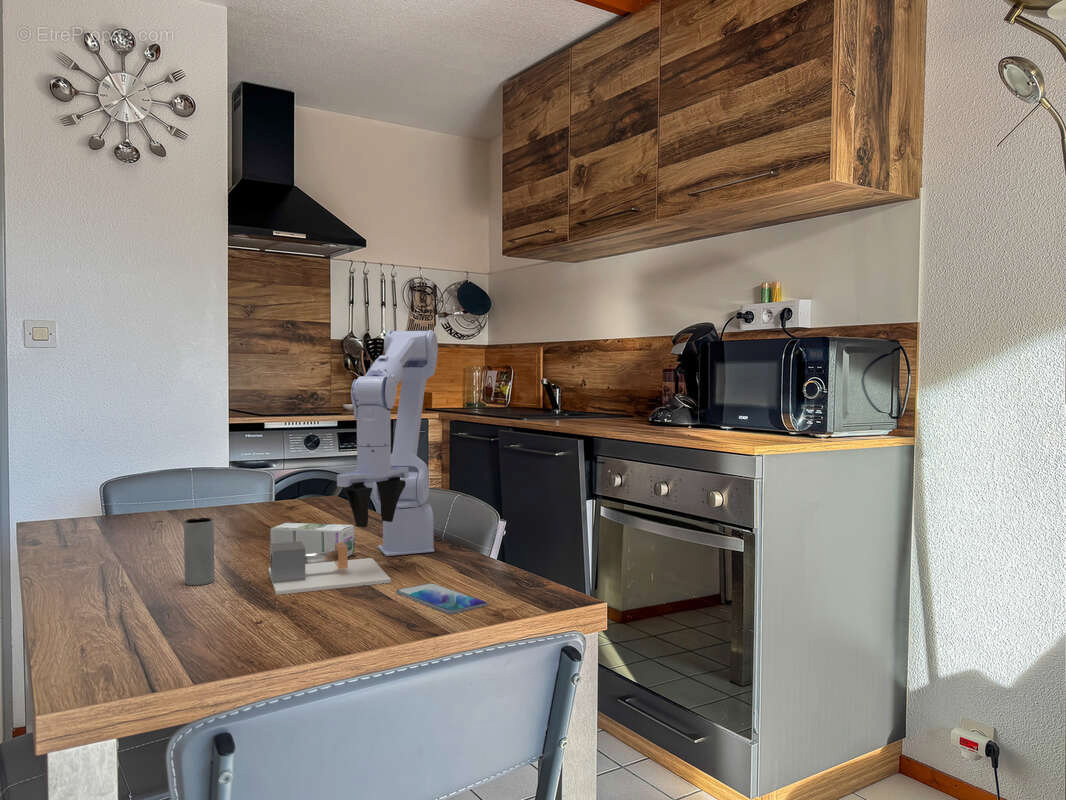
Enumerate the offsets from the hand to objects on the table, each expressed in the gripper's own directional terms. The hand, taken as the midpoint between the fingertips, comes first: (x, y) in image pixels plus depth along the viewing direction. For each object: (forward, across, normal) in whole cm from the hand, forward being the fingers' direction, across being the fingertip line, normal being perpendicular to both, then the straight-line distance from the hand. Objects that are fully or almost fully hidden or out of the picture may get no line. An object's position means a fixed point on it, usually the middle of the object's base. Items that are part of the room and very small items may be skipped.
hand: (374, 523), depth 134 cm
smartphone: (+9, +5, +20) cm, 23 cm away
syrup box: (+5, +2, -25) cm, 26 cm away
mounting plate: (+8, +7, -4) cm, 12 cm away
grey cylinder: (+9, +22, -18) cm, 30 cm away
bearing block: (+8, +12, -7) cm, 17 cm away
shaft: (+7, +8, -5) cm, 12 cm away
